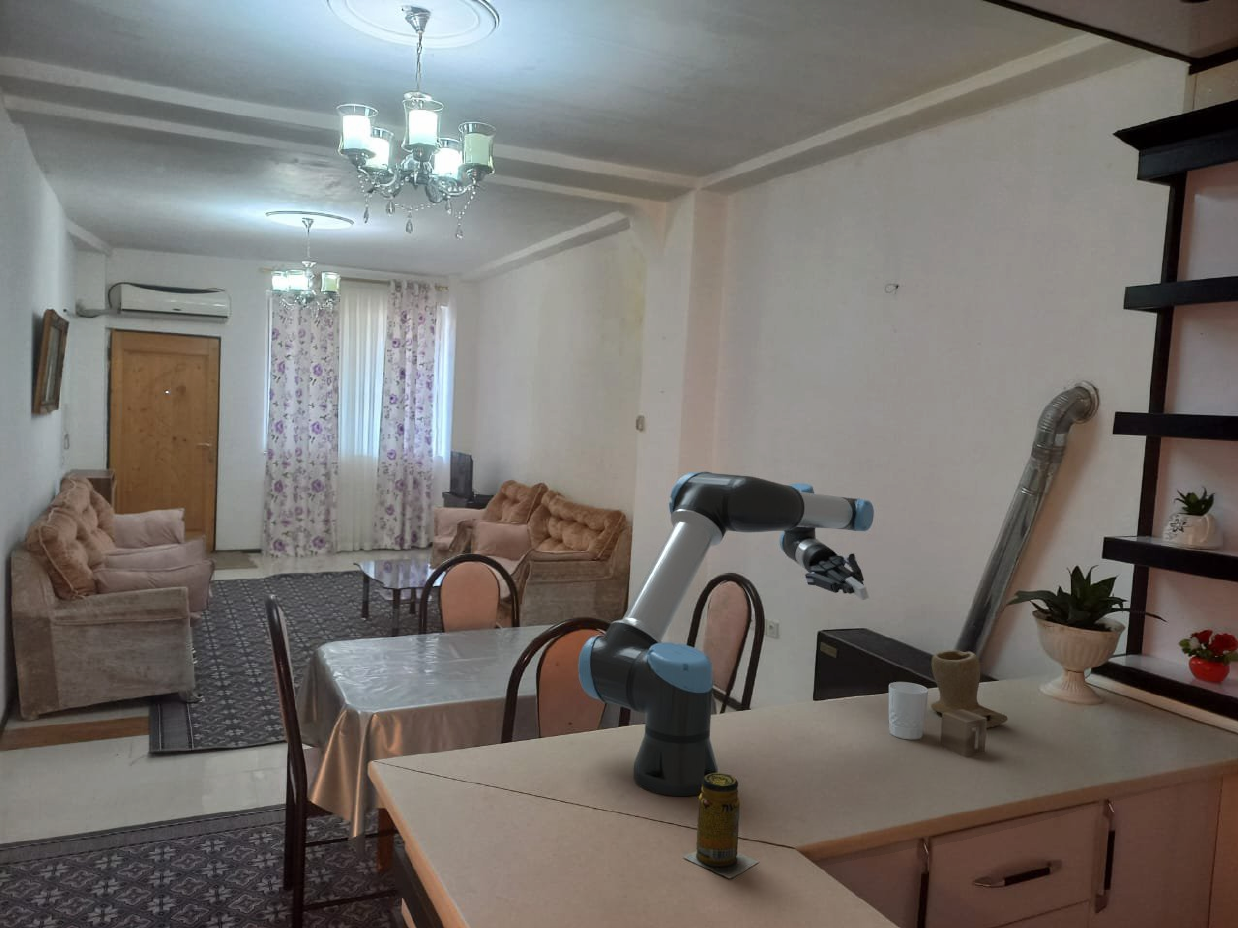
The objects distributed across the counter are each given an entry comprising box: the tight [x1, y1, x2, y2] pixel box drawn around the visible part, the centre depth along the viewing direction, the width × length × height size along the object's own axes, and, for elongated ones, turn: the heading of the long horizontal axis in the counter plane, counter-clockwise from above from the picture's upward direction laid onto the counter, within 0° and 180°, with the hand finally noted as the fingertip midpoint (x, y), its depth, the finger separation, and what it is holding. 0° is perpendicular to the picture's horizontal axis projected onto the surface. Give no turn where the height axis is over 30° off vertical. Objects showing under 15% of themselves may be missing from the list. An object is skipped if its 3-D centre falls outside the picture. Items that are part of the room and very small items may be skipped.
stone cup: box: [930, 649, 1009, 729], centre depth 198 cm, size 15×12×15 cm
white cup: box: [888, 681, 929, 741], centre depth 187 cm, size 8×8×10 cm
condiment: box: [683, 772, 759, 879], centre depth 131 cm, size 7×8×12 cm
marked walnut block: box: [939, 709, 987, 758], centre depth 180 cm, size 6×6×7 cm
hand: (864, 593), depth 189 cm, fingers closed
